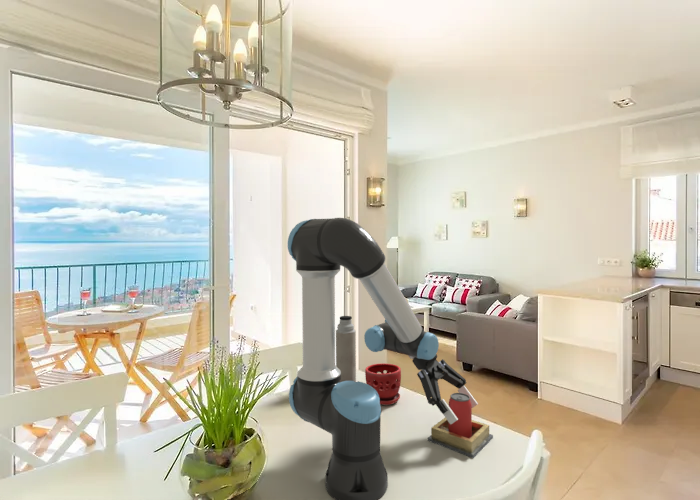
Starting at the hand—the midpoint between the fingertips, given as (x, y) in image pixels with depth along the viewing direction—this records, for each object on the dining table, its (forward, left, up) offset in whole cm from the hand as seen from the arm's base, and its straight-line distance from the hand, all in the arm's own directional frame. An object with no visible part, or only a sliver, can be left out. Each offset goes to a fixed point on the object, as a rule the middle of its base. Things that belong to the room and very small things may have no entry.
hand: (465, 414), depth 115 cm
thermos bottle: (+10, +55, -8) cm, 57 cm away
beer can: (0, +1, -7) cm, 7 cm away
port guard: (0, +1, -8) cm, 8 cm away
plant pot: (+8, +35, -8) cm, 37 cm away
